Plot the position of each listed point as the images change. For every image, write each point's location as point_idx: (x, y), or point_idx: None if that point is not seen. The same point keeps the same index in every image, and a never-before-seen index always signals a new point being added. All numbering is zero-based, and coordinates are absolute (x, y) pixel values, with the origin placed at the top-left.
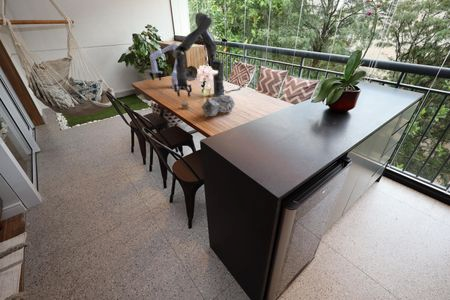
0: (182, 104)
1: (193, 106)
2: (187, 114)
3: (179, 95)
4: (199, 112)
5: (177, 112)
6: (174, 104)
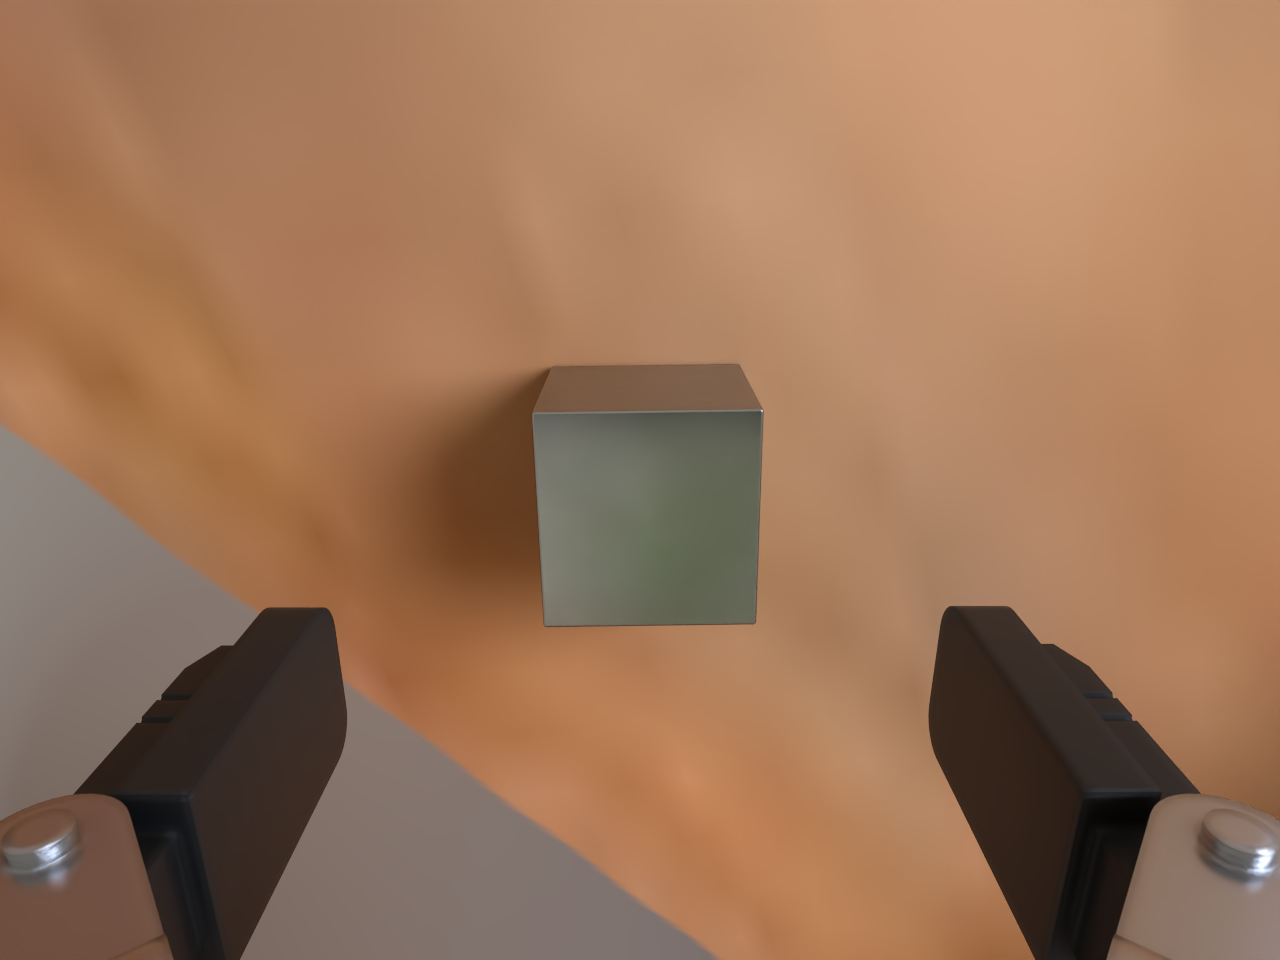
0: (574, 616)
1: (914, 262)
2: (831, 870)
3: (316, 697)
4: (1169, 720)
5: (505, 791)
6: (72, 143)
